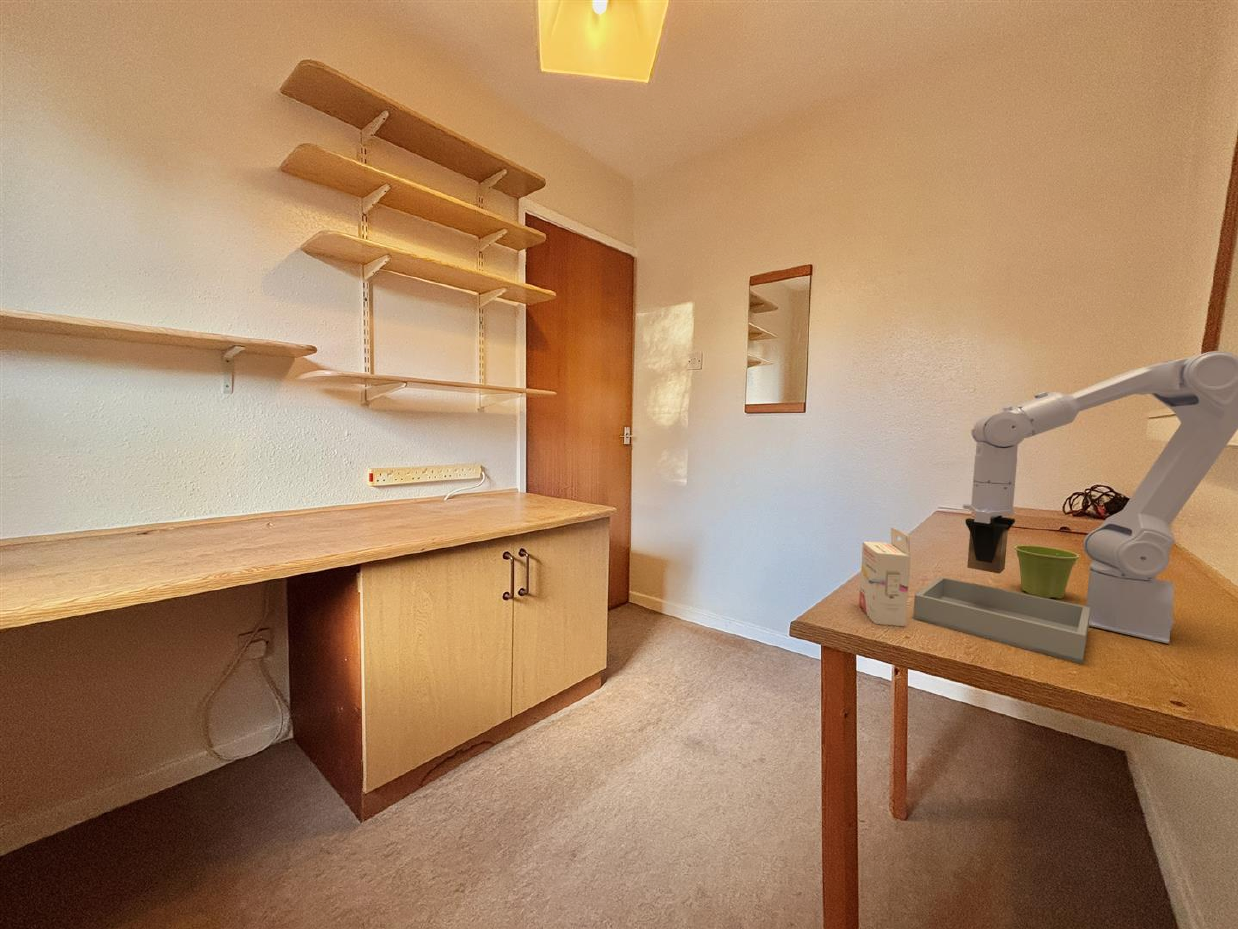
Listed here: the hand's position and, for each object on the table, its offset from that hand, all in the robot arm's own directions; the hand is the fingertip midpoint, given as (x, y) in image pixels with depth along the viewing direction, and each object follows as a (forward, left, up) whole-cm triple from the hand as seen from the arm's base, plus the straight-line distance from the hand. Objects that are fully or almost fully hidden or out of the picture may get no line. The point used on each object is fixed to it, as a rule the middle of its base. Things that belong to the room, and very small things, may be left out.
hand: (987, 559), depth 82 cm
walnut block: (0, 0, -2) cm, 2 cm away
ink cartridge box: (+11, +18, -9) cm, 23 cm away
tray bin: (-3, +7, -9) cm, 12 cm away
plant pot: (-6, -20, -9) cm, 23 cm away
